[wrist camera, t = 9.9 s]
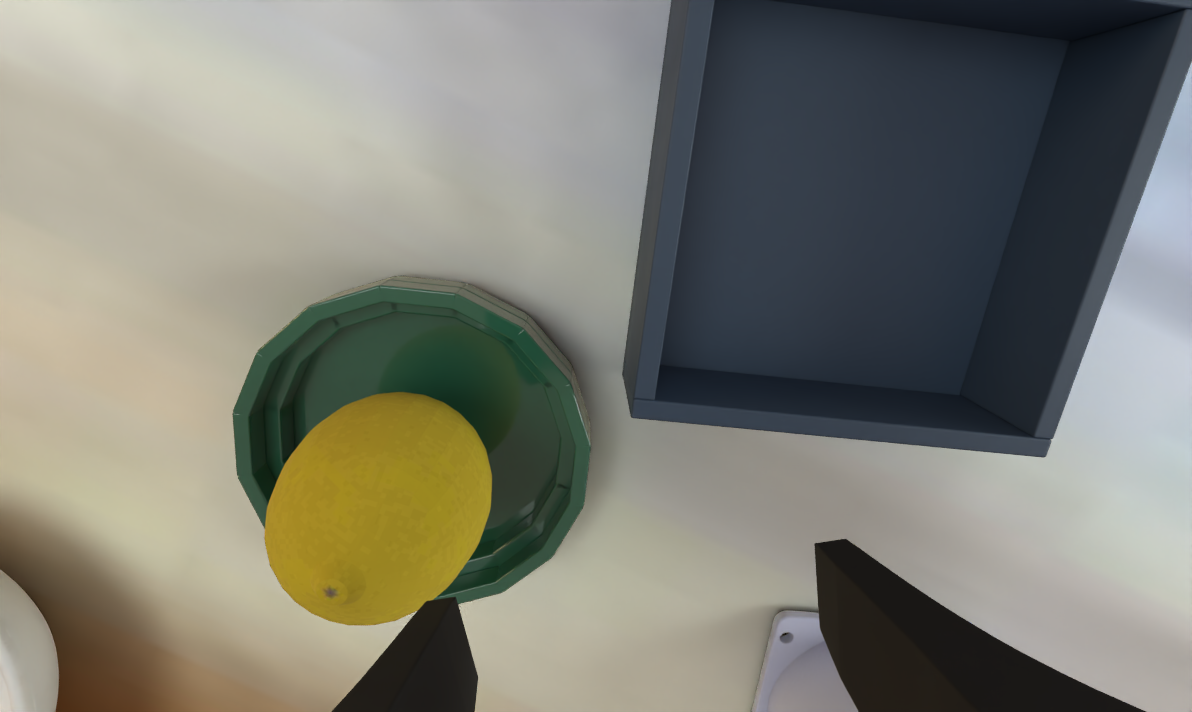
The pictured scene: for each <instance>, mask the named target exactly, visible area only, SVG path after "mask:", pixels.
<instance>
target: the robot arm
mask: <svg viewBox="0 0 1192 712" xmlns="http://www.w3.org/2000/svg"><path fill="white" fill-rule="evenodd" d="M815 559H816V575H817V592H818V608H819V613H816V612H804V611H791V610H786V611H782V612H780V613H778V614H777V615H776V616H775V618H774V620H773V625H772V629H771V633H770V637H769V641H768V645H767V649H766V654H765V658H764V662H763V666H762V670H761V674H760V678H759V683H758V687H757V691H756V695H755V699H754V703H753V708H752V712H1145V711H1143V710H1141V709H1139V708H1136V707H1134V706H1132V705H1130V704H1127V703H1125V702H1123V701H1121V700H1118V699H1116V698H1114V697H1112V696H1109V695H1107V694H1105V693H1103V692H1100V691H1098V690H1096V689H1094V688H1092V687H1089V686H1087V685H1085V684H1083V683H1081V682H1079V681H1077V680H1075V679H1073V678H1071V677H1068V676H1066V675H1064V674H1062V673H1060V672H1059V671H1057V670H1055V669H1053V668H1051V667H1049V666H1047V665H1045V664H1043V663H1041V662H1039V661H1037V660H1035V659H1033V658H1031V657H1030V656H1028V655H1026V654H1024V653H1022V652H1020V651H1018V650H1016V649H1014V648H1013V647H1011V646H1009V645H1007V644H1005V643H1004V642H1002V641H1000V640H998V639H997V638H995V637H993V636H991V635H990V634H988V633H986V632H985V631H983V630H981V629H980V628H978V627H976V626H975V625H973V624H971V623H970V622H968V621H966V620H965V619H963V618H961V617H960V616H958V615H957V614H955V613H953V612H952V611H950V610H949V609H947V608H945V607H944V606H942V605H941V604H939V603H938V602H936V601H935V600H933V599H932V598H930V597H928V596H927V595H926V594H924V593H923V592H921V591H920V590H918V589H917V588H915V587H914V586H912V585H911V584H909V583H908V582H906V581H905V580H903V579H902V578H900V577H899V576H898V575H896V574H895V573H893V572H892V571H891V570H889V569H888V568H886V567H885V566H883V565H882V564H881V563H879V562H878V561H876V560H875V559H874V558H872V557H871V556H869V555H868V554H867V553H865V552H864V551H862V550H861V549H860V548H858V547H857V546H855V545H854V544H852V543H851V542H850V541H848V540H847V539H841V540H835V541H828V542H821V543H815ZM787 632H788V634H787V635H785V636H781V635H782V634H783V633H787ZM477 683H478V675H477V672H476V668H475V664H474V661H473V657H472V654H471V650H470V646H469V643H468V639H467V635H466V632H465V628H464V625H463V621H462V617H461V614H460V610H459V606H458V603H457V599H456V597H450V598H443V599H437V600H430V601H426V602H425V603H424V604H423V605H422V606H421V608H420V609H419V610H418V611H417V612H416V614H415V615H414V616H413V617H412V618H411V620H410V621H409V622H408V623H407V624H406V626H405V627H404V628H403V629H402V631H401V632H400V633H399V634H398V636H397V637H396V638H395V639H394V640H393V642H392V643H391V644H390V645H389V647H388V648H387V649H386V650H385V651H384V653H383V654H382V655H381V656H380V657H379V658H378V660H377V661H376V662H375V663H374V664H373V666H372V667H371V668H370V669H369V670H368V671H367V673H366V674H365V675H364V676H363V677H362V679H361V680H360V681H359V682H358V683H357V684H356V686H355V687H354V688H353V689H352V690H351V691H350V692H349V693H348V694H347V695H346V696H345V698H344V699H343V700H342V701H341V702H340V703H339V704H338V705H337V706H336V707H335V708H334V710H333V711H332V712H474V711H475V703H476V693H477Z"/></svg>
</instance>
